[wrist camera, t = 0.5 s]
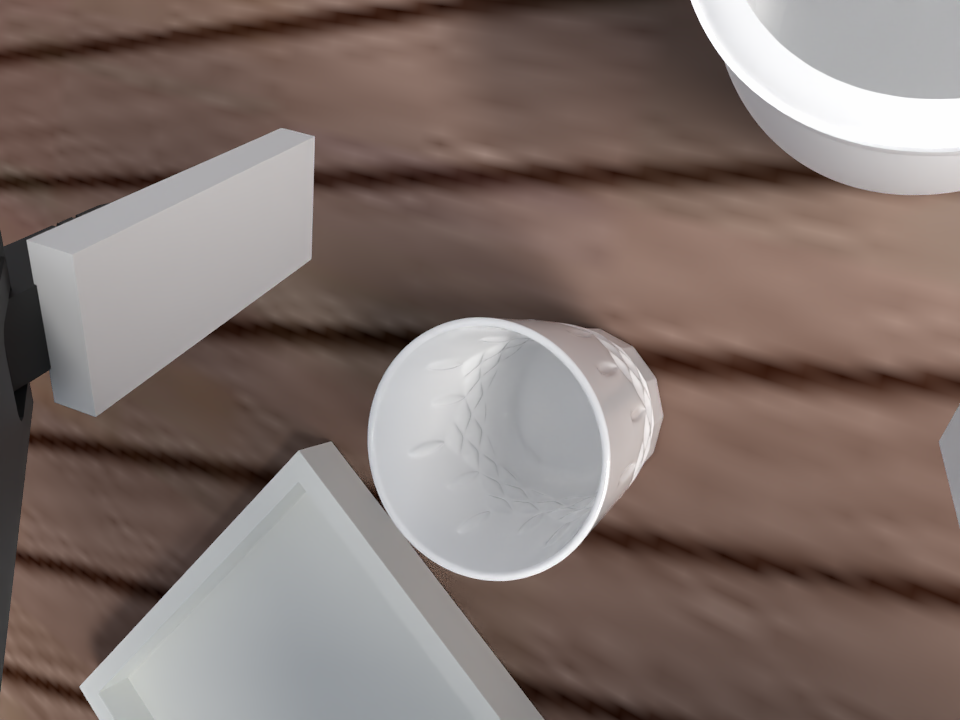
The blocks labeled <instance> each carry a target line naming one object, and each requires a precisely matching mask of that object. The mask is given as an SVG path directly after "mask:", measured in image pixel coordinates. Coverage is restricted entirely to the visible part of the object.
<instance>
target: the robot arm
mask: <svg viewBox="0 0 960 720" xmlns="http://www.w3.org/2000/svg"><path fill="white" fill-rule="evenodd" d="M314 151H315V136H311V135H307V134H303V133H299V132H296V131H292V130H288V129H284V128H280V129H278V130H276V131H273V132H271V133H269V134H267V135H264V136H262V137H260V138H258V139H255V140H253V141H251V142H248V143H246V144H244V145H242V146H239V147H237V148H235V149H232V150H230V151H228V152H226V153H223V154H221V155H219V156H217V157H214V158H212V159H210V160H207V161H205V162H203V163H201V164H198V165H196V166H194V167H192V168H189V169H187V170H185V171H182V172H180V173H178V174H176V175H173V176H171V177H169V178H167V179H164V180H162V181H160V182H157V183H155V184H153V185H151V186H148V187H146V188H144V189H142V190H139V191H137V192H135V193H132V194H130V195H128V196H126V197H123V198H121V199H119V200H116V201H114V202H112V203H108V204H103V205H99V206H96V207H94V208H92V209H89V210H87V211H85V212H82V213H80V214H78V215H76V218H72V217H71V218H69V219H66V220H64V221H62V222H60V223H57V226H56V227H55V226H50V227H48V228H46V229H43V230H41V231H39V232H37V233H34V234H32V235H30V236H27V237H25V238H23V239H20V240H18V241H16V242H14V243H11V244H9V245H7V246H4V247H3V242H2V237H1V232H0V690H1V681H2V672H3V664H4V655H5V646H6V637H7V629H8V620H9V611H10V602H11V594H12V585H13V576H14V567H15V559H16V550H17V541H18V532H19V523H20V515H21V506H22V497H23V488H24V480H25V471H26V462H27V453H28V445H29V436H30V427H31V418H32V409H33V398H32V393H31V388H30V382H31V381H32V380H34V379H35V378H37V377H39V376H40V375H42V374H43V373H45V372H47V371H48V370H49V372H50V378H51V384H52V389H53V395H54V401H55V403H58V404H61V405H64V406H67V407H69V408H72V409H75V410H78V411H80V412H83V413H86V414H89V415H92V416H94V417H97V416H98V415H99V414H101V413H102V412H103V411H105V410H106V409H108V408H109V407H110V406H112V405H113V404H114V403H116V402H117V401H118V400H120V399H121V398H123V397H124V396H125V395H127V394H128V393H129V392H131V391H132V390H133V389H135V388H136V387H138V386H139V385H140V384H142V383H143V382H144V381H146V380H147V379H149V378H150V377H151V376H153V375H154V374H155V373H157V372H158V371H159V370H161V369H162V368H164V367H165V366H166V365H168V364H169V363H170V362H172V361H173V360H174V359H176V358H177V357H179V356H180V355H181V354H183V353H184V352H185V351H187V350H188V349H190V348H191V347H192V346H194V345H195V344H196V343H198V342H199V341H200V340H202V339H203V338H205V337H206V336H207V335H209V334H210V333H211V332H213V331H214V330H215V329H217V328H218V327H220V326H221V325H222V324H224V323H225V322H226V321H228V320H229V319H231V318H232V317H233V316H235V315H236V314H237V313H239V312H240V311H241V310H243V309H244V308H246V307H247V306H248V305H250V304H251V303H252V302H254V301H255V300H256V299H258V298H259V297H261V296H262V295H263V294H265V293H266V292H267V291H269V290H270V289H272V288H273V287H274V286H276V285H277V284H278V283H280V282H281V281H282V280H284V279H285V278H287V277H288V276H289V275H291V274H292V273H293V272H295V271H296V270H297V269H299V268H300V267H302V266H303V265H304V264H306V263H307V262H308V261H310V260H311V258H312V223H313V187H314ZM939 444H940V449H941V453H942V457H943V461H944V465H945V469H946V473H947V477H948V481H949V486H950V490H951V494H952V498H953V502H954V506H955V510H956V514H957V518H958V523H959V527H960V404H959V406H958V408H957V410H956V412H955V414H954V415H953V417H952V419H951V421H950V423H949V424H948V426H947V428H946V430H945V432H944V433H943V435H942V437H941V439H940V441H939Z"/></svg>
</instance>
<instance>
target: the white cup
mask: <svg viewBox="0 0 960 720" xmlns="http://www.w3.org/2000/svg"><path fill="white" fill-rule="evenodd" d="M662 420H663V411H662V406H661V400H660V395H659V390H658V384H657V379H656V377H655V376H654V374H653V373H652V372H651V370H650V369H649V367H648V366H647V365H646V363H645V362H644V361H643V359H642V358H641V356H640V355H639V354H638V352H637V351H636V350H635V348H634V347H633V346H631V345H629V344H627V343H625V342H624V341H622V340H620V339H618V338H616V337H614V336H613V335H611V334H609V333H607V332H605V331H603V330H601V329H596V328H583V327H580V326H576V325H572V324H567V323H558V322H549V321H543V320H519V319H505V318H488V317H472V318H463V319H458V320H453V321H450V322H446V323H443V324H441V325H438V326H436V327H434V328H432V329H430V330H428V331H426V332H424V333H423V334H421V335H420V336H418V337H417V338H415V339H414V340H413V341H412V342H410V343H409V344H408V345H407V346H406V347H405V348H404V349H403V350H402V351H401V352H400V353H399V354H398V355H397V356H396V358H395V359H394V360H393V361H392V363H391V364H390V366H389V367H388V369H387V370H386V372H385V373H384V375H383V377H382V379H381V381H380V383H379V385H378V388H377V390H376V393H375V396H374V399H373V402H372V406H371V410H370V415H369V422H368V437H367V441H368V456H369V463H370V468H371V473H372V477H373V480H374V484H375V487H376V490H377V492H378V495H379V497H380V499H381V502H382V504H383V506H384V508H385V510H386V511H387V513H388V515H389V516H390V518H391V520H392V521H393V523H394V524H395V525H396V527H397V528H398V529H399V531H400V532H401V533H402V534H403V536H404V537H405V538H406V539H407V540H408V541H409V542H410V543H411V544H412V545H413V546H414V547H415V548H416V549H417V550H419V551H420V552H421V553H422V554H423V555H425V556H426V557H427V558H429V559H430V560H432V561H433V562H435V563H437V564H438V565H440V566H442V567H444V568H446V569H448V570H450V571H452V572H455V573H457V574H460V575H463V576H466V577H470V578H474V579H479V580H487V581H509V580H516V579H522V578H526V577H529V576H533V575H535V574H538V573H541V572H543V571H545V570H547V569H549V568H551V567H553V566H554V565H556V564H557V563H559V562H560V561H562V560H563V559H564V558H566V557H567V556H568V555H569V554H571V553H572V552H573V551H574V550H575V549H576V548H577V547H578V546H579V545H580V543H581V542H582V541H583V540H584V539H585V538H586V536H587V535H588V534H589V533H590V532H591V531H592V529H593V528H594V527H595V526H596V525H597V524H598V523H599V521H600V520H601V519H602V518H603V517H604V516H605V515H606V514H607V512H608V511H609V510H610V509H611V508H612V507H613V505H614V504H615V503H616V502H617V501H618V500H619V499H620V498H621V497H622V495H623V494H624V493H625V492H626V490H627V489H628V487H629V486H630V485H631V484H632V482H633V481H634V480H635V478H636V477H637V475H638V473H639V471H640V470H641V468H642V466H643V464H644V463H645V462H646V461H647V460H648V459H649V458H650V456H651V455H652V454H653V453H654V449H655V446H656V442H657V438H658V435H659V431H660V427H661V424H662Z"/></svg>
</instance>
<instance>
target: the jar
mask: <svg viewBox="0 0 960 720" xmlns="http://www.w3.org/2000/svg"><path fill="white" fill-rule="evenodd" d="M691 3H692V5H693V8H694V10H695V12H696V15H697V17H698V19H699V21H700V23H701V25H702V27H703V29H704V31H705V33H706V35H707V36H708V38H709V40H710V41H711V43H712V44H713V46H714V48H715V49H716V50H717V52H718V53H719V55H720V56H721V57H722V59H723V60H724V62H725V65H726V68H727V71H728V73H729V76H730V78H731V80H732V83H733V85H734V87H735V89H736V91H737V93H738V95H739V97H740V98H741V100H742V102H743V103H744V105H745V107H746V108H747V110H748V111H749V113H750V114H751V116H752V117H753V118H754V120H755V121H756V122H757V124H758V125H759V126H760V127H761V128H762V130H763V131H764V132H765V133H766V134H767V135H768V136H769V137H770V138H771V139H772V140H773V141H774V142H775V143H776V144H777V145H778V146H779V147H780V148H781V149H783V150H784V151H785V152H786V153H787V154H789V155H790V156H791V157H793V158H794V159H796V160H797V161H798V162H800V163H801V164H803V165H805V166H806V167H808V168H810V169H811V170H813V171H815V172H817V173H819V174H821V175H823V176H825V177H827V178H830V179H832V180H834V181H837V182H840V183H843V184H846V185H849V186H852V187H856V188H859V189H864V190H868V191H873V192H879V193H887V194H898V195H930V194H942V193H950V192H956V191H960V0H691Z"/></svg>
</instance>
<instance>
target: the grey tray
mask: <svg viewBox="0 0 960 720" xmlns="http://www.w3.org/2000/svg"><path fill="white" fill-rule="evenodd" d="M80 689H81V691H82V692H83V694H84V696H85V697H86V699H87V700H88V702H89V704H90V705H91V707H92V709H93V710H94V712H95V713H96V715H97V717H98V718H99V720H544V719H543V717H542V716H541V715H540V713H539V712H538V711H537V709H536V708H535V707H534V705H533V704H532V703H531V702H530V700H529V699H528V698H527V696H526V695H525V694H524V692H523V691H522V690H521V688H520V687H519V686H518V685H517V683H516V682H515V681H514V679H513V678H512V677H511V675H510V674H509V673H508V671H507V670H506V669H505V668H504V666H503V665H502V664H501V662H500V661H499V660H498V658H497V657H496V656H495V654H494V653H493V652H492V651H491V649H490V648H489V647H488V645H487V644H486V643H485V641H484V640H483V639H482V637H481V636H480V635H479V634H478V632H477V631H476V630H475V628H474V627H473V626H472V624H471V623H470V622H469V620H468V619H467V618H466V617H465V615H464V614H463V613H462V611H461V610H460V609H459V607H458V606H457V605H456V604H455V602H454V601H453V600H452V598H451V597H450V596H449V594H448V593H447V592H446V590H445V589H444V588H443V587H442V585H441V584H440V583H439V581H438V580H437V579H436V577H435V576H434V575H433V573H432V572H431V571H430V570H429V568H428V567H427V566H426V564H425V563H424V562H423V560H422V559H421V558H420V556H419V555H418V554H417V553H416V551H415V550H414V549H413V547H412V546H411V545H410V543H409V542H408V541H407V539H406V538H405V537H404V536H403V534H402V533H401V532H400V531H399V529H398V528H397V527H396V525H395V524H394V523H393V521H392V520H391V519H390V517H389V516H388V515H387V513H386V512H385V511H384V509H383V508H382V507H381V505H380V504H379V503H378V502H377V500H376V499H375V498H374V496H373V495H372V494H371V492H370V491H369V490H368V488H367V487H366V486H365V485H364V483H363V482H362V481H361V479H360V478H359V477H358V475H357V474H356V473H355V472H354V470H353V469H352V468H351V466H350V465H349V464H348V462H347V461H346V460H345V458H344V457H343V456H342V455H341V453H340V452H339V451H338V449H337V448H336V447H335V445H334V444H333V443H332V441H331V442H327V443H324V444H320V445H316V446H313V447H309V448H305V449H302V450H299V451H298V452H297V453H296V454H295V455H294V456H293V457H292V458H291V459H290V460H289V461H288V462H287V464H286V465H285V466H284V467H283V468H282V469H281V470H280V471H279V472H278V473H277V474H276V475H275V476H274V478H273V479H272V480H271V481H270V482H269V483H268V484H267V485H266V486H265V487H264V488H263V489H262V490H261V492H260V493H259V494H258V495H257V496H256V497H255V498H254V499H253V500H252V501H251V502H250V503H249V505H248V506H247V507H246V508H245V509H244V510H243V511H242V512H241V513H240V514H239V515H238V516H237V517H236V519H235V520H234V521H233V522H232V523H231V524H230V525H229V526H228V527H227V528H226V529H225V530H224V531H223V533H222V534H221V535H220V536H219V537H218V538H217V539H216V540H215V541H214V542H213V543H212V544H211V545H210V547H209V548H208V549H207V550H206V551H205V552H204V553H203V554H202V555H201V556H200V557H199V558H198V559H197V561H196V562H195V563H194V564H193V565H192V566H191V567H190V568H189V569H188V570H187V571H186V572H185V573H184V575H183V576H182V577H181V578H180V579H179V580H178V581H177V582H176V583H175V584H174V585H173V586H172V588H171V589H170V590H169V591H168V592H167V593H166V594H165V595H164V596H163V597H162V598H161V599H160V600H159V602H158V603H157V604H156V605H155V606H154V607H153V608H152V609H151V610H150V611H149V612H148V613H147V614H146V616H145V617H144V618H143V619H142V620H141V621H140V622H139V623H138V624H137V625H136V626H135V627H134V628H133V630H132V631H131V632H130V633H129V634H128V635H127V636H126V637H125V638H124V639H123V640H122V641H121V642H120V644H119V645H118V646H117V647H116V648H115V649H114V650H113V651H112V652H111V653H110V654H109V655H108V656H107V658H106V659H105V660H104V661H103V662H102V663H101V664H100V665H99V666H98V667H97V668H96V669H95V670H94V672H93V673H92V674H91V675H90V676H89V677H88V678H87V679H86V680H85V681H84V682H83V683H82V685H81V686H80Z"/></svg>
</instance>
